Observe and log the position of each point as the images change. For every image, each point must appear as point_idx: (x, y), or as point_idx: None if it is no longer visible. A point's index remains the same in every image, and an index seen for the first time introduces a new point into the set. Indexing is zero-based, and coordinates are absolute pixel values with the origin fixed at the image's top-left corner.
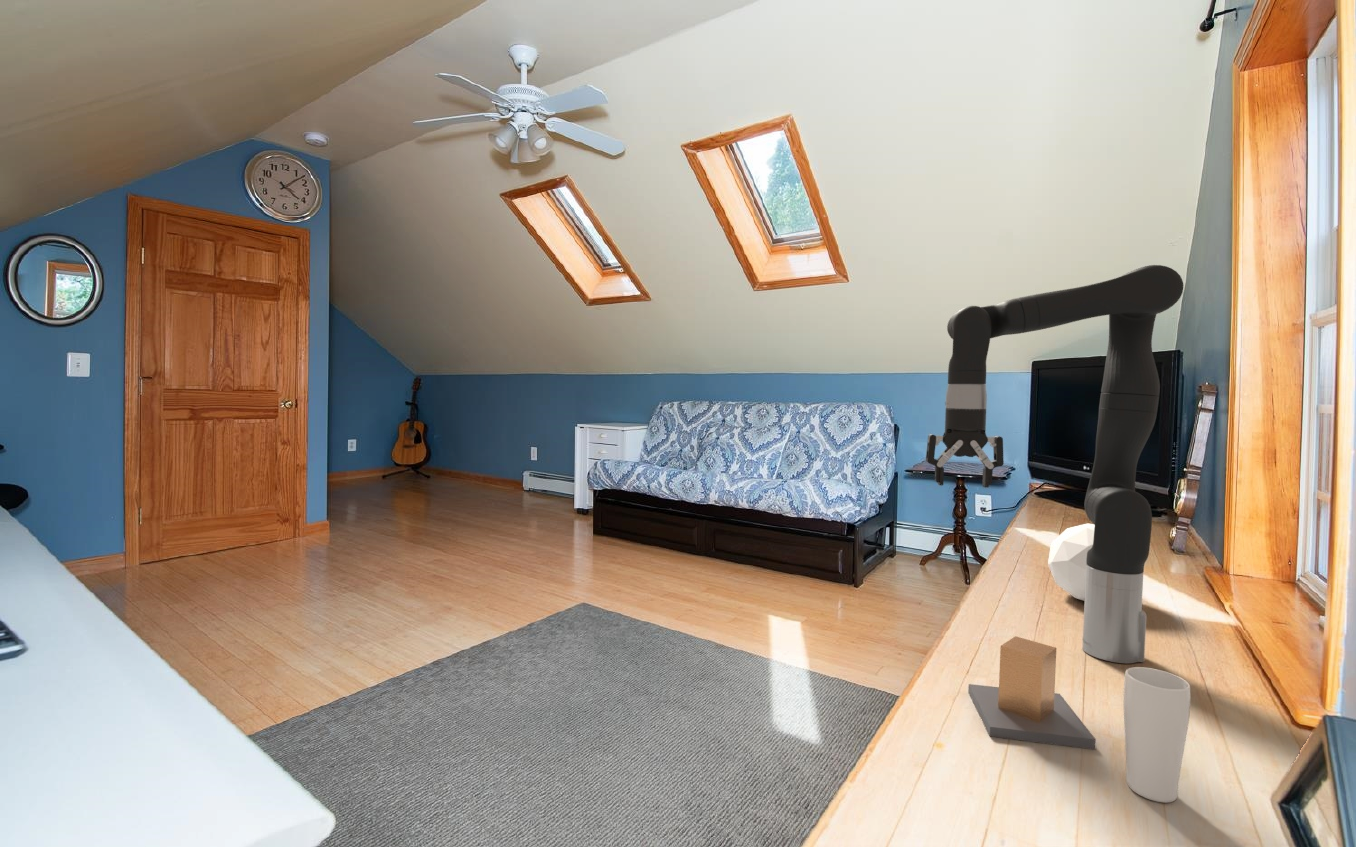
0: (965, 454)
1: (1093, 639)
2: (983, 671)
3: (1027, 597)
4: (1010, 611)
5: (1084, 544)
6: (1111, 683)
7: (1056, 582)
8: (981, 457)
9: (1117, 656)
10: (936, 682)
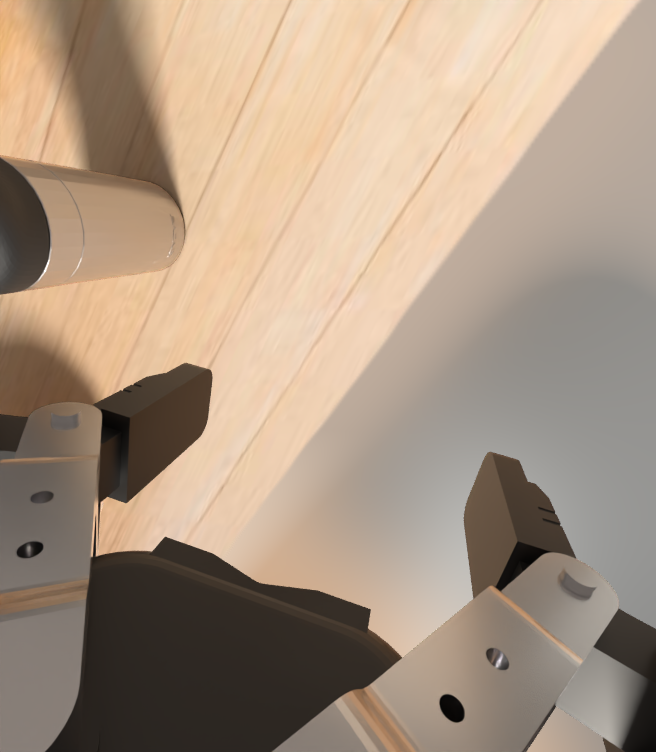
0: (249, 593)
1: (162, 211)
2: (427, 122)
3: (167, 495)
4: (227, 433)
5: None
6: (205, 85)
7: (101, 504)
8: (81, 471)
9: (145, 181)
10: (569, 46)
